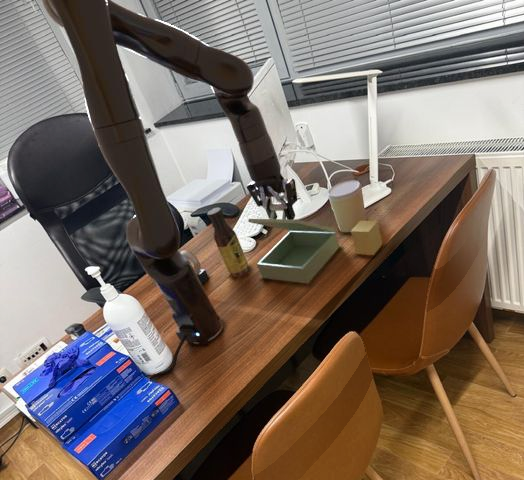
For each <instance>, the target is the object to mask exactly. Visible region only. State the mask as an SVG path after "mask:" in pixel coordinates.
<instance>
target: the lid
mask: <svg viewBox="0 0 524 480" xmlns="http://www.w3.org/2000/svg"><path fill="white" fill-rule="evenodd" d="M269 208H270V210H271V215H270V219H269V218H248V221H247V222H248V223H251V224H256V225H260V226H264V227H265V226H266V227H270V228H274V229H279V230H284V231H288V232H289V231H312V232H336V228H332V227H329V226H325V225H321V224H320V225H319V224H316V223H313V222H308V221H304V220H300V219H293V220H290V219H287V217H286V214H285V212H284V207H283V206H282V205H281V203H280V202H277V203H276V202H275V203H273V202H272V203H271V204H270V206H269ZM275 211H276V212H282V216H281V217H282V218H280V219H279V218H277V219H274V212H275Z"/></svg>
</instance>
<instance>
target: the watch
mask: <svg viewBox="0 0 524 480" xmlns="http://www.w3.org/2000/svg"><path fill="white" fill-rule="evenodd" d="M179 252H180V253H181V254H182V255H183V256H184V257H186V258H187V259H188V260H189V261H190V262H191V264H192V266H193V269H194V271H195V273H196V274H197V276H198V278H199V280H200V282H201V284H202V286H203V285H204V284H205V283H206V282H207V281H208V280H209V279H210V277H209V275H208V273H207V271H206V269H202V267H201V262H200V260H199V258H198V257H197V256H196V255H195V254H194V253H193V252H192V251H190V250H187V249H184V250H181V251H179Z"/></svg>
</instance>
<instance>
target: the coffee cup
mask: <svg viewBox="0 0 524 480" xmlns="http://www.w3.org/2000/svg"><path fill="white" fill-rule="evenodd" d="M327 198H328V200H329V203H330V205H331V209H332V212H333V214H334V218H335V221H336V224H337V226H338V229H339V231H340V232H341V233H342V232H343V233H351V230H352V229H353V228H354V227H355V226H356V225H357V224H358V222H359V221H367V215H366V208H365V202H364V201H365V200H364V195H363V186H362V184H361V183H360V181H358V180H356V179H355V180H354V179H351V180H350V179H349V180H345V181H341V182H339V183H336V184H335V185H333V186H332V187H330V189H328V192H327Z"/></svg>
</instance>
